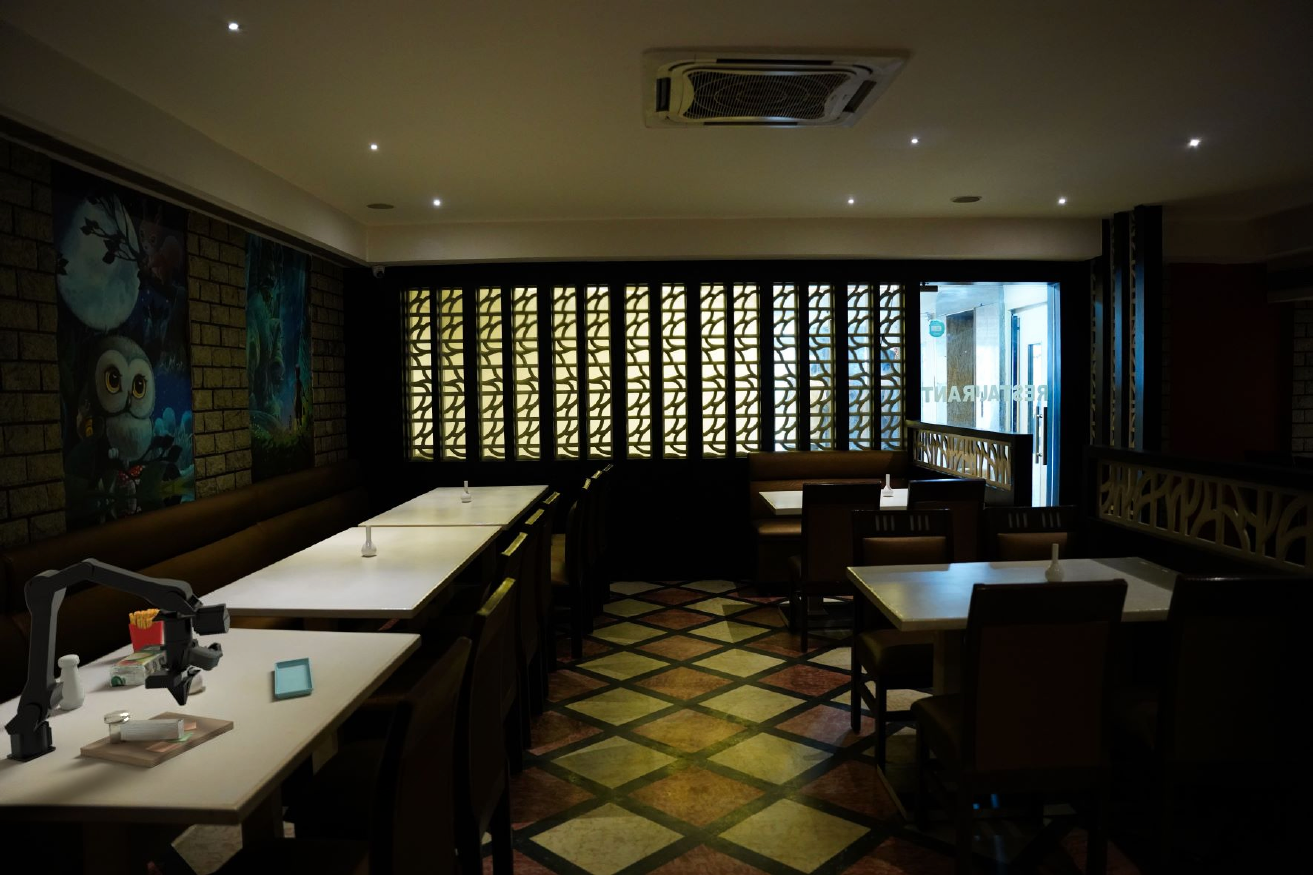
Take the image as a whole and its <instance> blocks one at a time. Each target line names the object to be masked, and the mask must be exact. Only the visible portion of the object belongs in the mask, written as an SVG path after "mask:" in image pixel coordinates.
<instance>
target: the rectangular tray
mask: <svg viewBox="0 0 1313 875" xmlns="http://www.w3.org/2000/svg"><path fill="white" fill-rule="evenodd" d="M314 688H315V687H314V681H313V673H312V668H311V658H310V657H302V658H295V659H291V660H283V661H277V662H276V661H275V662H274V694H275V696H276V698H277V699H278V700H281V699H288V698H292V697H293V698H294V697H298V696H306V695H310V694H312V693H313V691H314Z"/></svg>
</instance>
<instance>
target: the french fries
mask: <svg viewBox="0 0 1313 875" xmlns="http://www.w3.org/2000/svg"><path fill="white" fill-rule="evenodd" d="M159 610H160V609H158V608H148V609H147V610H141V611H140V610H138V611H135V612H134V613H133V612H131V613H129V614H128V615H129V620H130V623H129V624H128V627H129V628H128V629H129V634H130V638H131V643H132V644H131V645H132V650H133V653H134V652H136V651H137V650H139V649H141V648H142V647H144V646H145V645H148V644H150V645H156V644H157V645H158V644H163V636H164V635H163V621H157V622H152V619H153V618H154V617H155V616H156V615H157V614H158V612H159Z"/></svg>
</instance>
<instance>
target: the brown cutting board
mask: <svg viewBox="0 0 1313 875" xmlns="http://www.w3.org/2000/svg"><path fill="white" fill-rule="evenodd" d="M161 719H183V725H184V735H183V736H182V737H181V738H179V739H144V740H124V741H122V742H118V743H110V738H109V735H108V736H105V737H103V738H101V739H100V738H99V739H97V740H96V741H94V742H91V743H88V744H86V745H84V746H81V747H80V748H79V749H80V751H79V752H80V755H81V756H86V757H91V758H97V759H103V760H108V761H114V762H119V763H124V764H130V765H134V766H142V767H147V768H153V767H155V766H157V765H160V764H161V763H164V762H166V761H168V760H170V759H172V758H174V757H176V756H178V755H180V754H182V753H184V752H186V751H188V750H191V749H193V748H196V747H197V746H200V745H201V744H203V743H205V742H208V741H210V740H212V739H213V738H216V737H218V736H219V735H222V734H224V733H226V732H228V731H230V730H233V729H234V728H235V726H234V725H235V724H234V721H231V720H227V719H226V720H225V719H218V718H213V717H207V716H198V715H192V714H185V713H178V712H172V711H165V712H162V713H160V714H157V715H155V716H153V717H150V718H148V719H147V720H161Z"/></svg>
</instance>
